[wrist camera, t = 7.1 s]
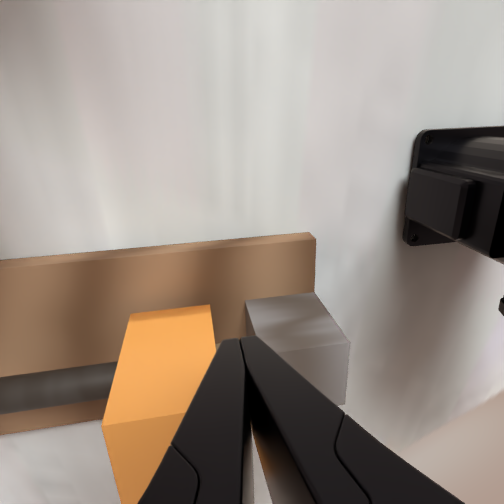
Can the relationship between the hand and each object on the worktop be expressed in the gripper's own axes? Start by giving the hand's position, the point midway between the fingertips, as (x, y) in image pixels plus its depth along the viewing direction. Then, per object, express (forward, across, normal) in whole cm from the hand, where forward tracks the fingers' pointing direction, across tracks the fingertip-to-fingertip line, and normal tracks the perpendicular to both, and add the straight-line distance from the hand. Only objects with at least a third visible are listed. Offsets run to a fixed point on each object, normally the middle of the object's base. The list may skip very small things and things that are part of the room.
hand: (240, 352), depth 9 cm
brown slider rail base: (+11, +7, +6) cm, 14 cm away
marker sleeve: (+9, +3, +6) cm, 11 cm away
